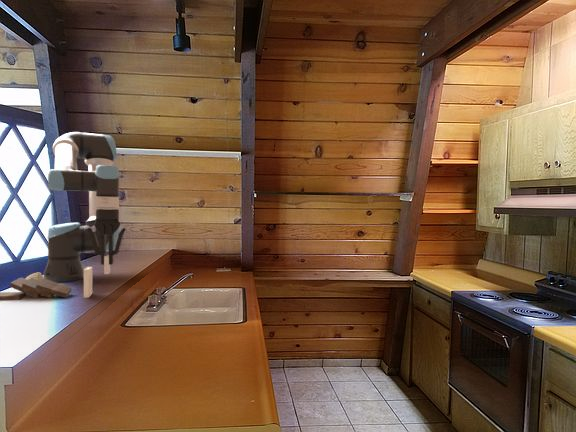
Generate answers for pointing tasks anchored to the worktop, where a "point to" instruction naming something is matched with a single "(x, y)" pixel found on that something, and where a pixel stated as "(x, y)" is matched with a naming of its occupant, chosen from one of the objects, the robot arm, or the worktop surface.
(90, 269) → the domino
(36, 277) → the seashell
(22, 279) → the domino
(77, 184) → the robot arm
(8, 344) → the worktop surface
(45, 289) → the domino
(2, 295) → the domino
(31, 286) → the domino
